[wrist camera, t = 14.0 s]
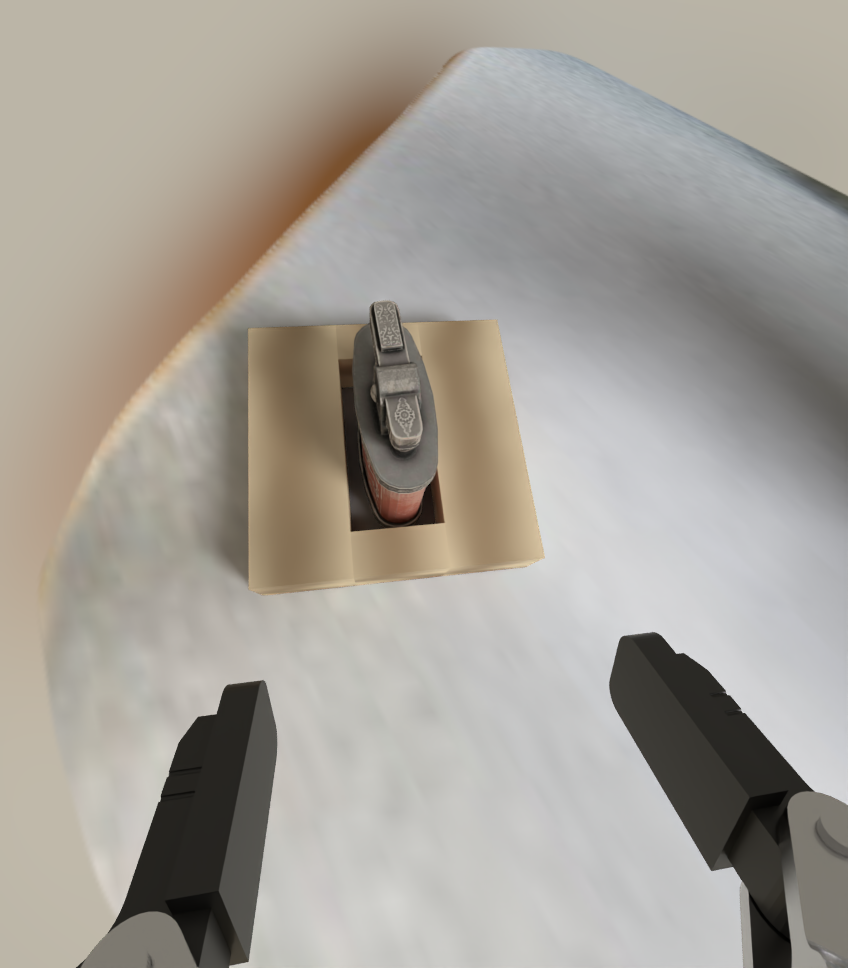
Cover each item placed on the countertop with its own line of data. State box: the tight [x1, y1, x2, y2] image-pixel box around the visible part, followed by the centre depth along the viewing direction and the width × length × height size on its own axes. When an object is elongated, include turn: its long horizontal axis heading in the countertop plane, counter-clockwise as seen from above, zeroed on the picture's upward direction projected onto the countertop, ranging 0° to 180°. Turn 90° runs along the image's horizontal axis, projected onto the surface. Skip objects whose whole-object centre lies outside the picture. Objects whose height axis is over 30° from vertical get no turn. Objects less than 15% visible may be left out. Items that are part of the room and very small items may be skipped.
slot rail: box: [248, 320, 545, 596], centre depth 25 cm, size 14×14×3 cm
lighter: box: [352, 300, 438, 528], centre depth 22 cm, size 8×3×10 cm, turn 10°
